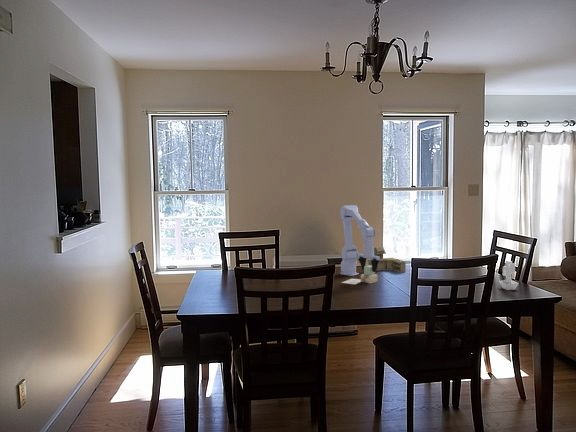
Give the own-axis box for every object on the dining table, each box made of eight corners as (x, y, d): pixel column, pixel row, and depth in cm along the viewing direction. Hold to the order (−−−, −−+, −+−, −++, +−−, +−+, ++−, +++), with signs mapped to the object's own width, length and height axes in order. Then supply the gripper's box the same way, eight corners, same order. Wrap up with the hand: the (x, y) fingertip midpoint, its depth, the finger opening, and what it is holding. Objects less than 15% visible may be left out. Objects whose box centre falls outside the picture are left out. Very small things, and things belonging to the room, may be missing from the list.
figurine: (510, 286, 244) (510, 258, 243) (520, 290, 235) (520, 262, 233) (497, 286, 244) (497, 259, 243) (506, 291, 234) (506, 262, 233)
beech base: (360, 281, 266) (360, 274, 265) (368, 279, 271) (368, 272, 270) (370, 283, 261) (370, 276, 260) (377, 281, 265) (377, 274, 265)
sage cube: (364, 274, 266) (364, 266, 265) (368, 273, 269) (368, 265, 268) (370, 275, 262) (370, 267, 262) (374, 274, 265) (374, 266, 265)
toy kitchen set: (380, 275, 282) (380, 251, 280) (367, 270, 297) (366, 247, 296) (405, 272, 288) (405, 249, 286) (391, 267, 303) (391, 245, 302)
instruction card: (341, 282, 265) (341, 282, 265) (351, 278, 274) (351, 278, 274) (355, 284, 259) (355, 284, 259) (365, 280, 269) (365, 279, 269)
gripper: (354, 247, 267) (354, 270, 268) (374, 250, 256) (374, 273, 257) (362, 246, 271) (362, 268, 273) (381, 248, 261) (382, 271, 262)
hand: (368, 270), depth 265 cm, fingers open, 7 cm apart
